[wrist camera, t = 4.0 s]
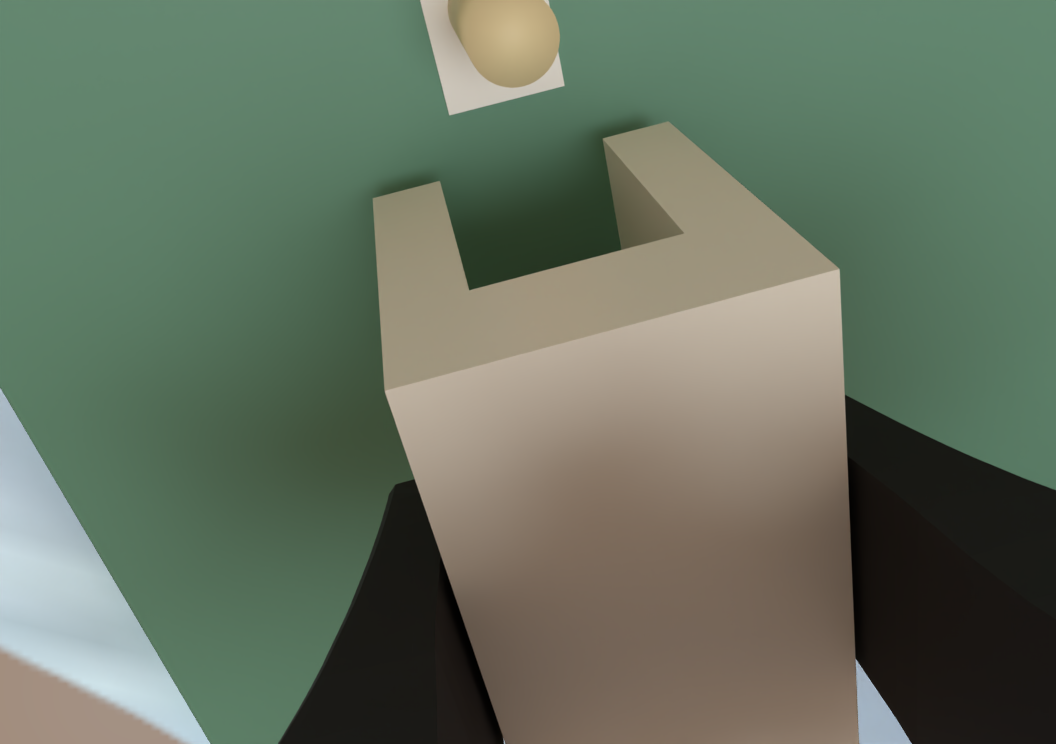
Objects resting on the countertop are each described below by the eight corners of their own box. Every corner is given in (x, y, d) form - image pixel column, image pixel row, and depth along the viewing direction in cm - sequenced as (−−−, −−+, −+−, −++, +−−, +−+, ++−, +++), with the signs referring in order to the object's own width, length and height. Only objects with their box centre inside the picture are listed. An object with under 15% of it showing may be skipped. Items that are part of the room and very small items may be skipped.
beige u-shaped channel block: (721, 523, 16) (860, 775, 12) (493, 587, 16) (547, 866, 11) (668, 120, 12) (839, 268, 8) (373, 197, 12) (384, 391, 8)
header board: (1367, 439, 19) (1524, 529, 17) (236, 755, 19) (216, 901, 16) (1862, -1177, 9) (2447, -1576, 7) (-567, -645, 8) (-974, -864, 6)
